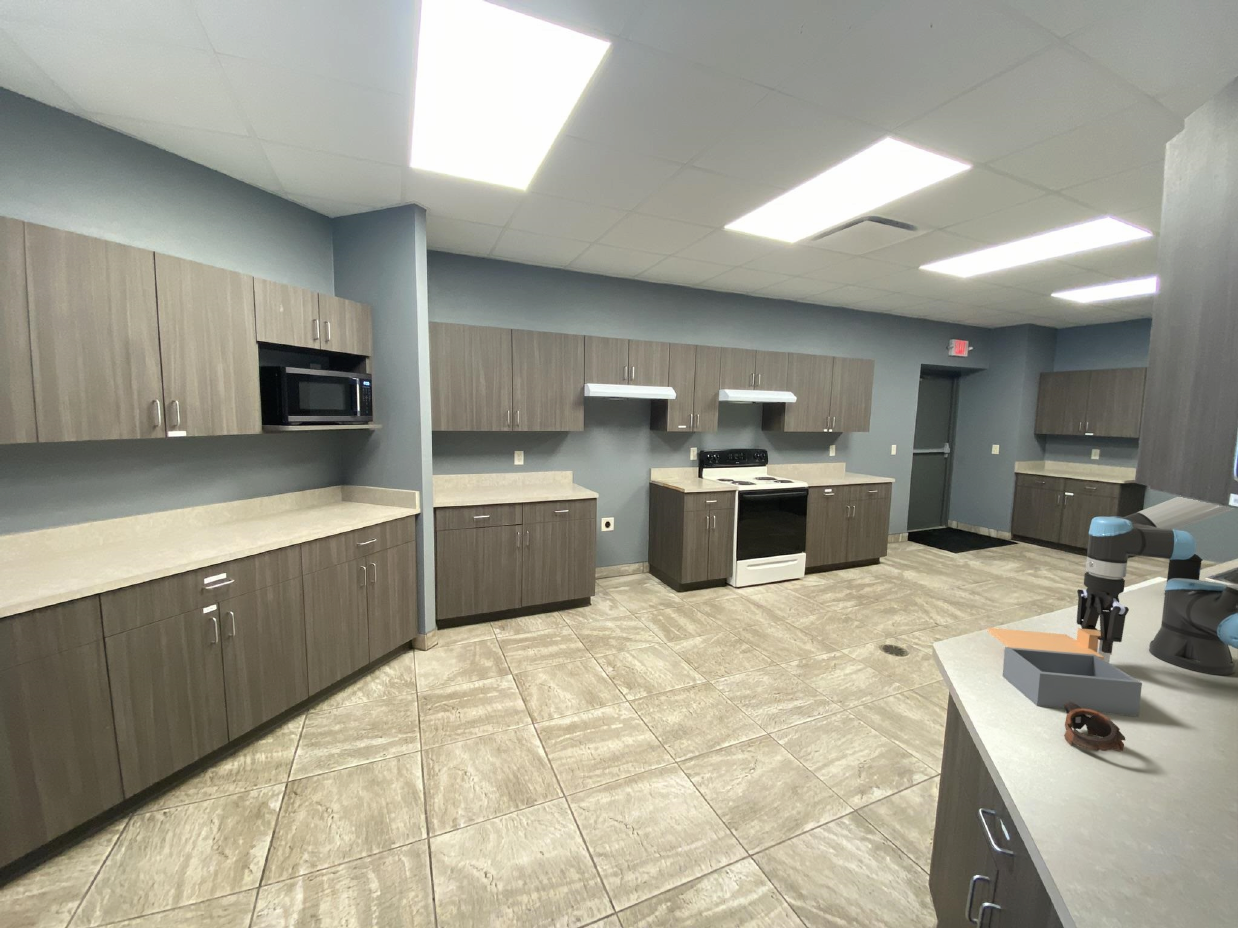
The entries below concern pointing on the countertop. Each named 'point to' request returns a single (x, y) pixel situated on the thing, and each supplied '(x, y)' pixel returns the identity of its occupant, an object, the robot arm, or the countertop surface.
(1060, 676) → the tub
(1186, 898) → the countertop surface
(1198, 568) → the aerosol can
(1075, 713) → the brown jagged ring
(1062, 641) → the lid
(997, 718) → the countertop surface
